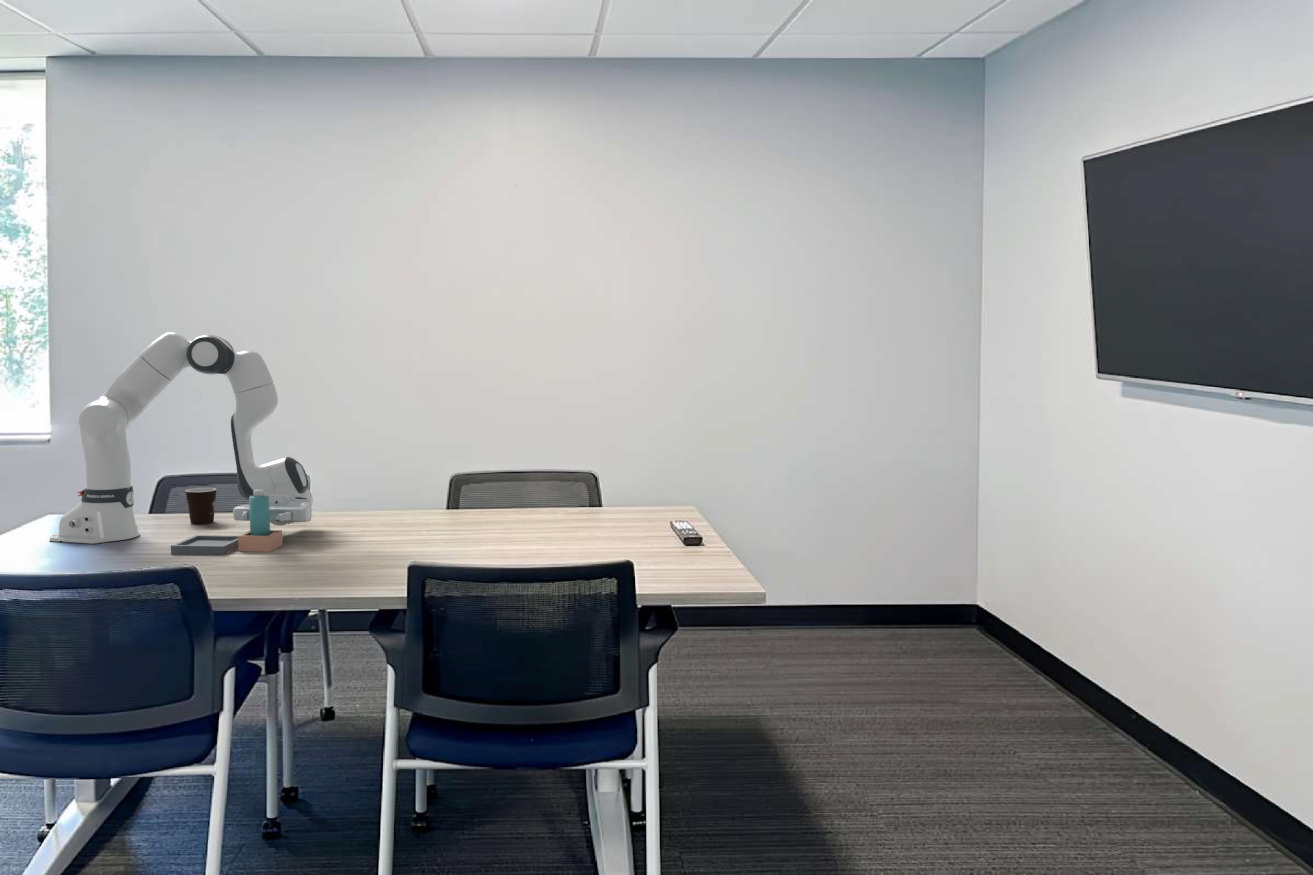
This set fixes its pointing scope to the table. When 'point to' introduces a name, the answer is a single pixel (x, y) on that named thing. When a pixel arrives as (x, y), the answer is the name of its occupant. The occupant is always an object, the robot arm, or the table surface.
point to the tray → (206, 545)
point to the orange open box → (260, 541)
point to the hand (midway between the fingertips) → (261, 517)
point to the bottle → (259, 514)
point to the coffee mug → (201, 505)
